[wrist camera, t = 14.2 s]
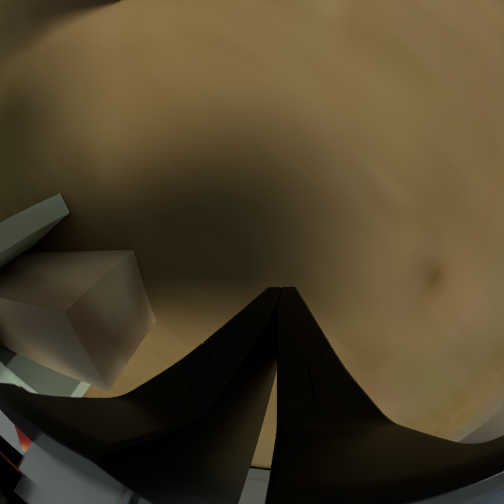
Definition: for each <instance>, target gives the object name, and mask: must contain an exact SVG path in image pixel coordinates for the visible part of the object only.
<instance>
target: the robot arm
mask: <svg viewBox="0 0 504 504" xmlns="http://www.w3.org/2000/svg"><path fill="white" fill-rule="evenodd" d="M203 343H204V344H203ZM203 343H202V344H200V345H199V346H198V347H197V348H195V349H194V350H193V351H192V352H190V353H189V354H188V355H186V356H185V357H184V358H182V359H181V360H180V361H178V362H177V363H175V364H174V365H172V366H171V367H169V368H168V369H166V370H165V371H163V372H161V373H160V374H158V375H157V376H155V377H153V378H152V379H150V380H149V381H147V382H145V383H144V384H142V385H141V386H139V387H137V388H136V389H134V390H132V391H130V392H128V393H126V394H124V395H121V396H117V397H111V398H85V397H64V396H51V395H42V394H36V393H32V392H29V391H26V390H24V389H22V388H20V387H19V386H17V385H15V384H13V383H0V410H1V411H2V412H3V413H4V414H5V415H6V416H7V417H8V418H9V420H11V422H12V423H14V425H15V426H16V427H17V428H18V429H19V430H20V431H21V432H22V433H23V434H24V435H25V436H27V437H28V438H29V439H30V440H31V441H32V443H31V444H30V446H29V447H28V449H27V450H26V452H25V454H24V455H22V454H20V453H19V452H18V451H17V450H16V449H15V448H14V447H12V446H11V445H10V444H9V443H8V442H7V441H6V440H5V439H4V438H3V437H2V436H0V504H238V503H239V500H240V497H241V494H242V491H243V488H244V485H245V482H246V477H247V475H248V472H249V469H250V465H251V462H252V459H253V455H254V452H255V449H256V445H257V442H258V438H259V435H260V431H261V428H262V424H263V420H264V417H265V413H266V409H267V406H268V402H269V398H270V394H271V390H272V387H273V383H274V379H275V375H276V371H277V429H276V439H275V445H274V452H273V458H272V464H271V470H270V476H269V482H268V487H267V493H266V499H265V504H504V436H501V437H499V438H496V439H493V440H491V441H487V442H483V443H475V444H467V443H459V442H454V441H450V440H446V439H443V438H439V437H436V436H432V435H429V434H426V433H422V432H419V431H416V430H413V429H410V428H407V427H404V426H401V425H398V424H396V423H395V422H393V421H392V420H390V419H389V418H388V417H387V416H385V415H384V414H383V413H382V412H381V410H380V409H379V408H378V407H377V406H376V405H375V403H374V402H373V401H372V400H371V399H370V397H369V396H368V395H367V394H366V393H365V392H364V390H363V389H362V388H361V387H360V386H359V384H358V383H357V382H356V381H355V380H354V378H353V377H352V376H351V375H350V373H349V372H348V371H347V370H346V368H345V367H344V365H343V364H342V362H341V361H340V359H339V358H338V356H337V355H336V353H335V351H334V350H333V348H332V347H331V345H330V343H329V341H328V340H327V338H326V336H325V335H324V333H323V331H322V330H321V328H320V326H319V325H318V323H317V321H316V320H315V318H314V317H313V315H312V313H311V312H310V310H309V308H308V307H307V305H306V303H305V302H304V300H303V298H302V297H301V295H300V294H299V292H298V290H297V289H296V287H283V288H281V287H268V288H267V289H266V290H265V291H263V292H262V293H261V294H260V295H259V296H258V297H256V298H255V299H254V300H253V301H252V302H251V303H249V304H248V305H247V306H246V307H245V308H244V309H242V310H241V311H240V312H239V313H238V314H237V315H235V316H234V317H233V318H232V319H231V320H229V321H228V322H227V323H226V324H225V325H223V326H222V327H221V328H220V329H219V330H217V331H216V332H215V333H214V334H213V335H211V336H210V337H209V338H208V339H207V340H205V341H204V342H203Z"/></svg>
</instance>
